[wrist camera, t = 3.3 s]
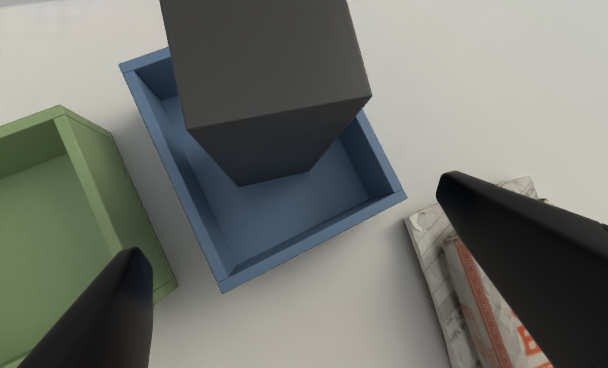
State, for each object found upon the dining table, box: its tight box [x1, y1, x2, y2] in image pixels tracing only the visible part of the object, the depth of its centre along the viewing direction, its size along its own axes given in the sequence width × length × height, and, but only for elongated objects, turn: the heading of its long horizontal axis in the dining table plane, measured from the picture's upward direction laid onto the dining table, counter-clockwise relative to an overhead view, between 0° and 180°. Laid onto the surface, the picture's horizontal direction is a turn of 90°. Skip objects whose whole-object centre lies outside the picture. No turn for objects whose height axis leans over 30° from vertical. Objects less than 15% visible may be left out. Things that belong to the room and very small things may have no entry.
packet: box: [159, 0, 372, 187], centre depth 13 cm, size 4×5×12 cm
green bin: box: [0, 105, 178, 368], centre depth 15 cm, size 11×11×5 cm
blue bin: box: [119, 47, 407, 294], centre depth 18 cm, size 13×11×5 cm
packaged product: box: [404, 176, 554, 368], centre depth 18 cm, size 18×5×10 cm
